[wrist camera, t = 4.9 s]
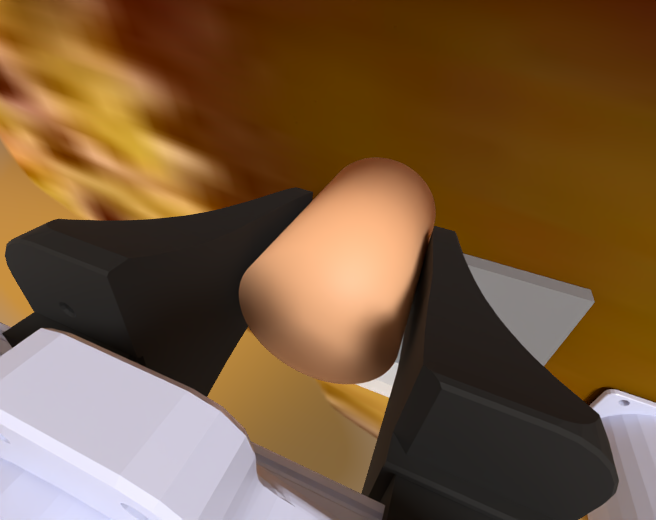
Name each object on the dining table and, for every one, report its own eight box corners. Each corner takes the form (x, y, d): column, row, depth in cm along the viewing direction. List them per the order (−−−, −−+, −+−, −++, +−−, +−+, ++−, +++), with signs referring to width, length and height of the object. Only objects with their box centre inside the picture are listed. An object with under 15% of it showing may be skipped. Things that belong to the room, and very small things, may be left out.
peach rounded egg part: (451, 173, 11) (421, 289, 6) (418, 271, 13) (379, 405, 9) (333, 145, 12) (233, 229, 7) (322, 241, 14) (242, 348, 10)
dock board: (590, 289, 18) (604, 329, 16) (488, 423, 27) (488, 461, 24) (281, 201, 22) (257, 223, 20) (278, 341, 31) (261, 368, 29)
